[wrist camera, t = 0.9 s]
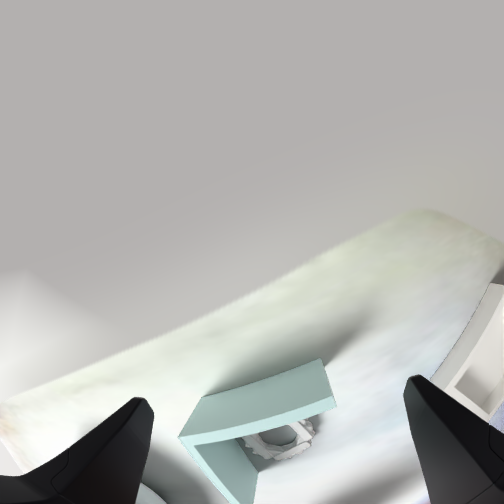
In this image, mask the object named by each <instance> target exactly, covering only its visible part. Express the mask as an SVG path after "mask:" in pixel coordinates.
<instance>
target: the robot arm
mask: <svg viewBox="0 0 504 504" xmlns="http://www.w3.org/2000/svg"><path fill="white" fill-rule="evenodd" d="M403 397H404V402H405V407H406V411H407V416H408V420H409V425H410V430H411V435H412V438H413V441H414V444H415V448H416V451H417V454H418V457H419V461H420V464H421V468H422V471H423V475H424V478H425V482H426V486H427V490H428V494H429V498H430V502H431V504H504V434H503V433H502V432H500V431H499V430H497V429H496V428H494V427H493V426H492V425H489V423H487V422H486V421H485V420H483V419H482V418H480V417H479V416H478V415H476V414H475V413H473V412H472V411H471V410H469V409H468V408H466V407H465V406H464V405H462V404H461V403H459V402H458V401H457V400H455V399H454V398H452V397H451V396H450V395H448V394H447V393H445V392H444V391H443V390H441V389H440V388H438V387H437V386H436V385H434V384H433V383H431V382H430V381H429V380H427V379H426V378H424V377H423V376H422V375H415V376H411V377H409V378H408V380H407V383H406V387H405V390H404V394H403ZM153 421H154V412H153V410H152V408H151V407H150V405H149V404H148V402H147V400H146V399H145V398H141V397H134V398H132V399H131V400H130V401H128V402H127V403H126V404H125V405H123V406H122V407H121V408H120V409H118V410H117V411H116V412H115V413H113V414H112V415H111V416H110V417H108V418H107V419H106V420H104V421H103V422H102V423H101V424H99V425H98V426H97V427H95V428H94V429H93V430H91V431H90V432H89V433H88V434H86V435H85V436H84V437H82V438H81V439H80V440H78V441H77V442H76V443H74V444H73V445H72V446H70V448H67V449H66V450H65V451H63V452H62V453H61V454H59V455H58V456H56V457H55V458H53V459H52V460H50V461H48V462H47V463H45V464H43V465H41V466H40V467H38V468H36V469H34V470H32V471H30V472H28V473H26V474H24V475H21V476H3V475H0V504H135V503H136V499H137V495H138V491H139V487H140V483H141V479H142V475H143V471H144V467H145V463H146V460H147V456H148V452H149V447H150V440H151V434H152V427H153Z"/></svg>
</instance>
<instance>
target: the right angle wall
mask: <svg viewBox="0 0 504 504" xmlns="http://www.w3.org/2000/svg"><path fill="white" fill-rule="evenodd" d="M335 407H337V405H336V402H335V399H334V396H333V393H332V389H331V386H330V383H329V380H328V377H327V374H326V371H325V368H324V365H323V363H322V360H321V358H319V359H316V360H314V361H311V362H309V363H306V364H304V365H301V366H299V367H296V368H294V369H291V370H288V371H286V372H283V373H280V374H277V375H274V376H272V377H269V378H266V379H263V380H260V381H257V382H254V383H251V384H247V385H244V386H241V387H238V388H234V389H231V390H227V391H224V392H220V393H217V394H213V395H209V396H205V397H201V399H200V401H199V402H198V404H197V406H196V408H195V409H194V411H193V413H192V414H191V416H190V418H189V419H188V421H187V423H186V424H185V426H184V428H183V429H182V431H181V433H180V434H179V436H178V439H179V440H180V442H181V443H182V444H183V446H184V447H185V449H186V450H187V451H188V453H189V454H190V455H191V457H192V458H193V459H194V461H195V462H196V463H197V465H198V466H199V467H200V469H201V470H202V471H203V472H204V474H205V475H206V476H207V477H208V478H209V480H210V481H211V482H212V483H213V484H214V486H215V487H216V488H217V489H218V490H219V491H220V493H221V494H222V495H223V496H224V497H225V498H226V499H227V500H228V501H229V502H230V504H253V502H254V496H255V490H256V484H257V478H258V472H257V470H256V469H255V467H254V466H253V465H252V463H251V462H250V460H249V459H248V457H247V456H246V454H245V453H244V451H243V450H242V448H241V447H240V445H239V444H238V442H237V441H236V439H235V438H238V437H242V436H243V437H242V439H243V440H244V441H245V442H246V443H245V447H249V448H253V454H259V455H261V456H262V457H263V458H265V459H266V460H267V459H270V458H272V457H273V458H274V459H275V460H276V461H281V460H283V459H285V458H292V456H293V455H294V454H302V453H303V451H304V449H306V448H308V447H310V446H311V443H312V442H311V440H310V439H312V438H313V435H315V432H314V431H313V430H312V429H313V425H312V423H310V422H308V419H309V417H311V416H314V415H317V414H320V413H322V412H325V411H328V410H330V409H333V408H335ZM284 425H289V426H290V427H291V428H292V429H293V430H294V431H295V432H296V433H297V436H296V439H295V440H294V442H292V443H290V444H287V445H283V446H276V445H272V444H268V443H264V442H263V441H262V439H261V437H260V436H259V432H263V431H266V430H270V429H274V428H277V427H281V426H284Z"/></svg>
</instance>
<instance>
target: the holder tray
mask: <svg viewBox="0 0 504 504" xmlns="http://www.w3.org/2000/svg"><path fill="white" fill-rule="evenodd" d="M430 381H432V382H433V383H434V384H435V385H436V386H437V387H438V388H440V389H441V390H443V391H444V392H445V393H447V394H448V395H450V396H451V397H452V398H454V399H455V400H457V401H458V402H459V403H461V404H462V405H464V406H465V407H466V408H468V409H469V410H471V411H472V412H473V413H475V414H476V415H478V416H479V417H480V418H482V419H483V420H485V421H486V422H487V423H488V421H489V420H490V419H491V418H492V416H493V415H494V414H495V412H496V411H497V410H498V408H499V407H500V406H501V404H502V403H503V401H504V285H500V284H494V283H490V284H489V286H488V288H487V290H486V292H485V294H484V296H483V298H482V300H481V302H480V304H479V306H478V307H477V309H476V311H475V313H474V315H473V316H472V318H471V320H470V322H469V323H468V325H467V327H466V328H465V330H464V331H463V333H462V335H461V336H460V338H459V339H458V341H457V342H456V344H455V345H454V347H453V348H452V350H451V351H450V353H449V354H448V356H447V357H446V359H445V360H444V361H443V363H442V364H441V365H440V367H439V368H438V369H437V371H436V372H435V373H434V375H433V376H432V377H431V379H430Z"/></svg>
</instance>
